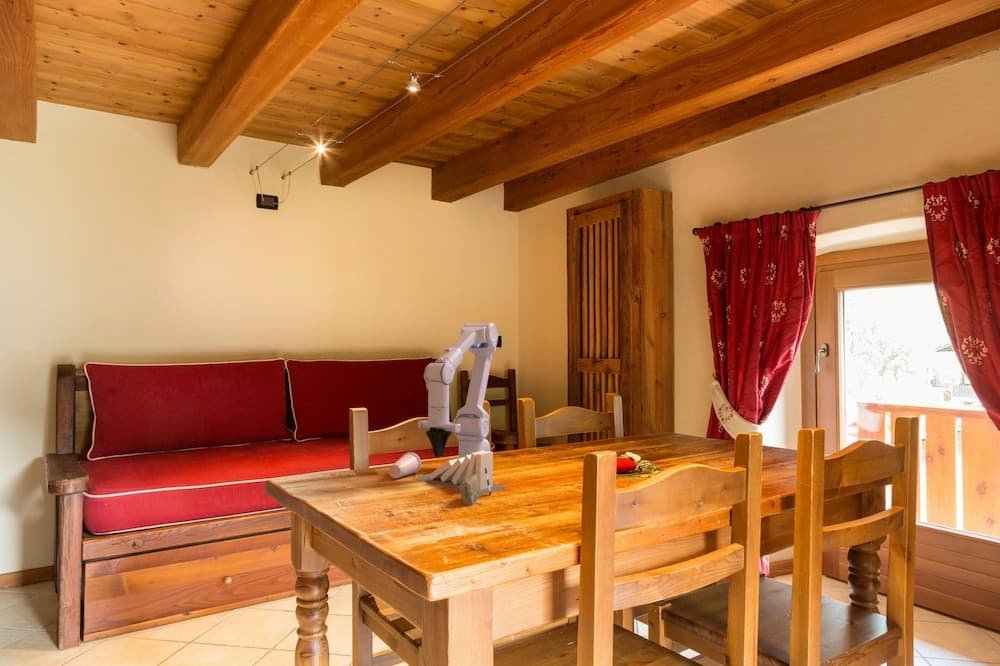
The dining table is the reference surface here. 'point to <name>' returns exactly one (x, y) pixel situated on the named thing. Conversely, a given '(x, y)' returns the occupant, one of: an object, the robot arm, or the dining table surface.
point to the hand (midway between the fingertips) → (438, 456)
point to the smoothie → (405, 465)
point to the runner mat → (452, 485)
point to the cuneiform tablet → (471, 489)
